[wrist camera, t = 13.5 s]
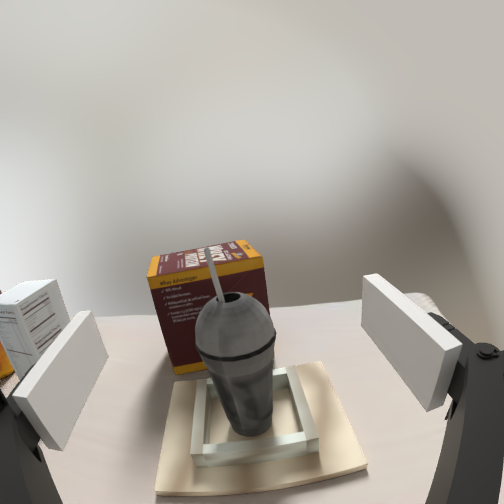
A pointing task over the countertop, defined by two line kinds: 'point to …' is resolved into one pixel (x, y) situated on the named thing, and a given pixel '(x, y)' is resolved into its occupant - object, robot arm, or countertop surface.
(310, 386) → the cup holder
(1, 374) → the bucket of meat
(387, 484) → the countertop surface
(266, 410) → the beverage cup
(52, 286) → the supplement box
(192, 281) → the supplement box
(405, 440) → the countertop surface
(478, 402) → the robot arm
